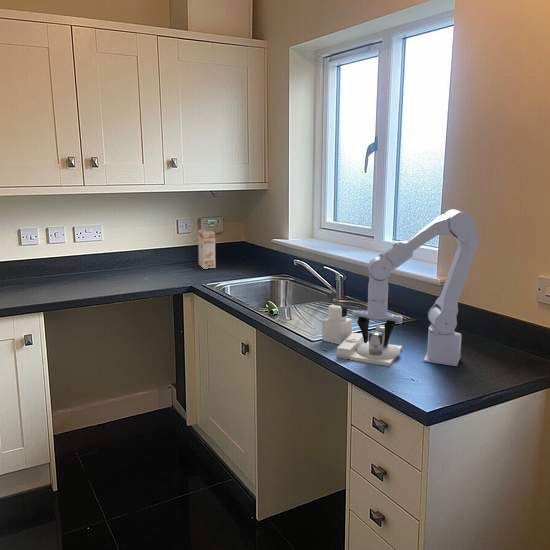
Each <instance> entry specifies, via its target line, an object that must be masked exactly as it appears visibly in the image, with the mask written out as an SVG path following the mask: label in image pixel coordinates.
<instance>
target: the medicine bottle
mask: <svg viewBox="0 0 550 550" xmlns="http://www.w3.org/2000/svg"><path fill="white" fill-rule="evenodd" d="M327 311H328V312H327V313H328V314H327V315H328V317H326V318H325V319H322V332H321V333H322V334H321V335H322V336H321V338H322V339H321V340H322V341H323V340H324V341H323V342H326V341H327V343H330V342H331V344H334V343H335V345H338V344H339V345H340V344H341V343H342V342H343V341H344V340H345V339H346V338H348V337H349V336H350V335H351V334H352V333H353V318H350V317H349V318H348V306H347V305H346V304H343V303H332V304H329V305H328V310H327ZM339 345H338V346H339Z"/></svg>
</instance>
